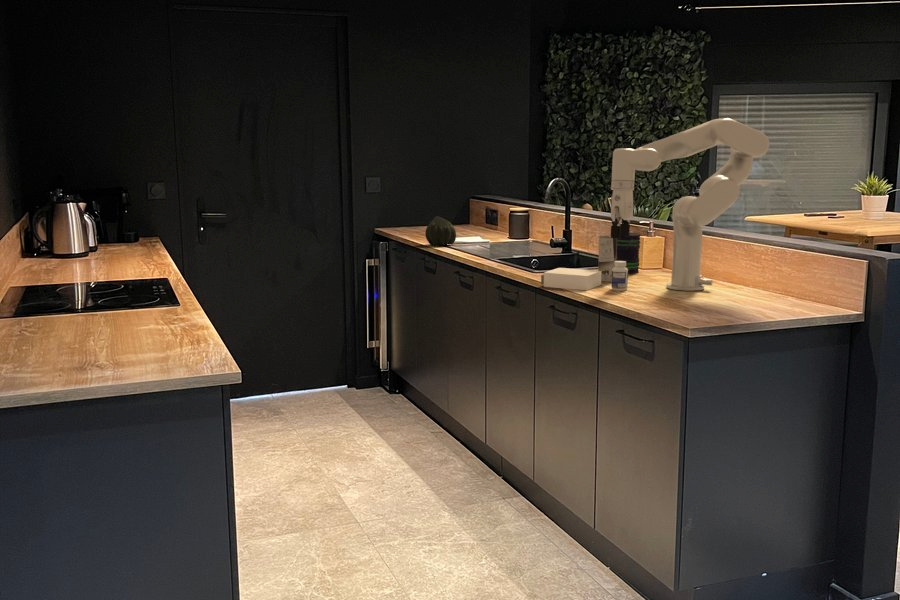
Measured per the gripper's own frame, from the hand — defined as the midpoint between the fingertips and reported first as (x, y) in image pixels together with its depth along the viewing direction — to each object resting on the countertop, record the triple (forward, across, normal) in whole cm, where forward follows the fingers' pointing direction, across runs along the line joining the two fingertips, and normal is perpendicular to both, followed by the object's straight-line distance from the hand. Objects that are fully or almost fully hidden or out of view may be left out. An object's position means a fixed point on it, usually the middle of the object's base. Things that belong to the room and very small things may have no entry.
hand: (620, 236), depth 293 cm
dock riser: (+18, 0, +16) cm, 25 cm away
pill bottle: (+18, 0, -1) cm, 18 cm away
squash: (+19, +85, +118) cm, 147 cm away
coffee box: (+18, +19, +10) cm, 29 cm away
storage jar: (+18, +42, +10) cm, 47 cm away
